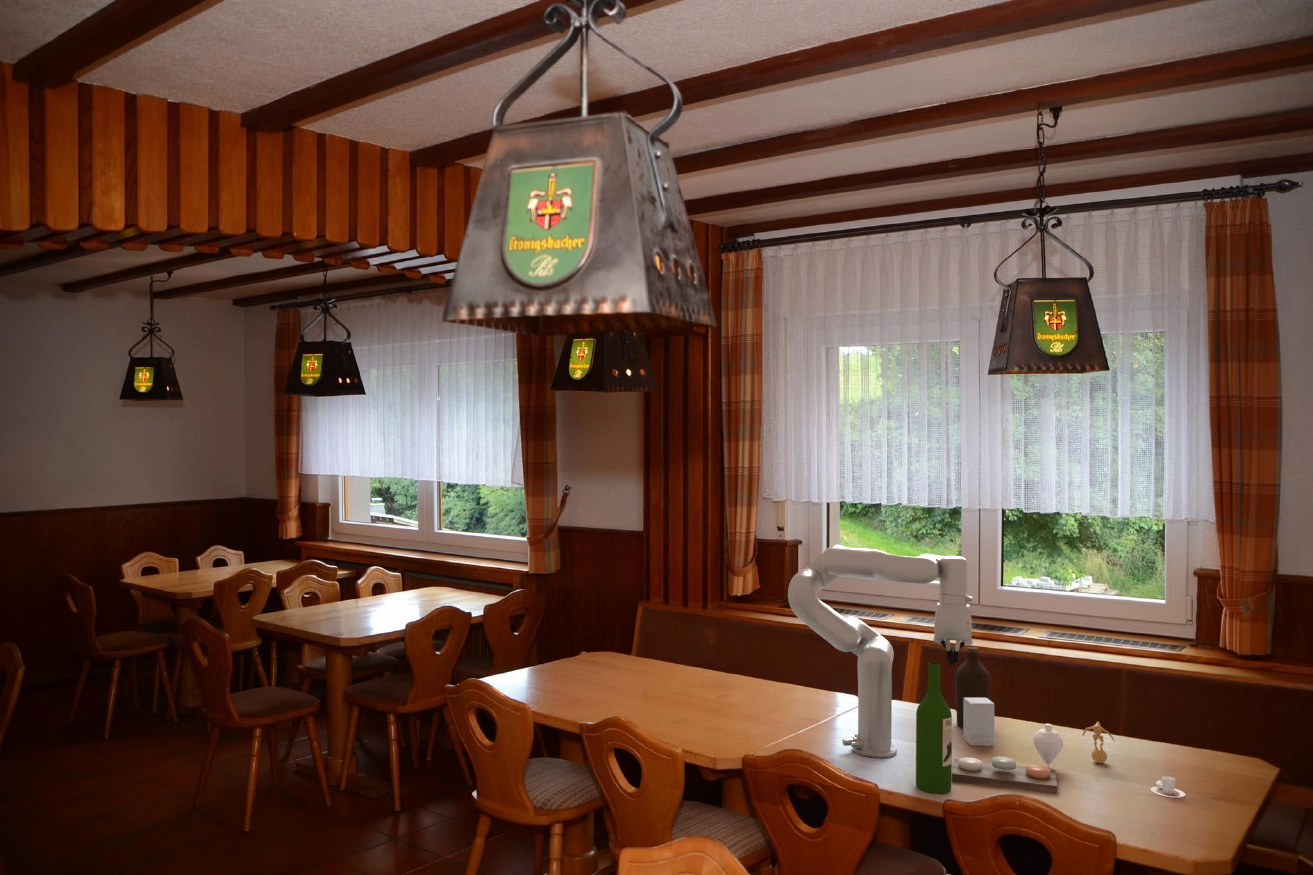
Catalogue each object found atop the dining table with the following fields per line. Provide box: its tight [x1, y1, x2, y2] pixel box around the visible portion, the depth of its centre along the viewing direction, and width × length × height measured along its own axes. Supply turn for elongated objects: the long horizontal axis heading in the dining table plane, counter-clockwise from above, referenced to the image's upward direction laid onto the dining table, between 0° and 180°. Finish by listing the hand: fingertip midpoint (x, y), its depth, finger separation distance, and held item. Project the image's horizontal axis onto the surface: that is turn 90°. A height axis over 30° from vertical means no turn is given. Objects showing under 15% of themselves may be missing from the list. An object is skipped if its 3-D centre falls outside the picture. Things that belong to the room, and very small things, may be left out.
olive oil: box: [954, 646, 991, 729], centre depth 307 cm, size 11×11×25 cm
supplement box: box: [962, 698, 995, 747], centre depth 290 cm, size 7×7×13 cm
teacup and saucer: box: [1150, 775, 1186, 799], centre depth 249 cm, size 9×8×4 cm
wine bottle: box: [915, 661, 953, 795], centre depth 251 cm, size 9×9×32 cm
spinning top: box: [1032, 723, 1064, 769], centre depth 268 cm, size 8×8×12 cm
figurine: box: [1081, 721, 1115, 764], centre depth 271 cm, size 8×6×12 cm
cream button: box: [958, 757, 983, 771], centre depth 261 cm, size 6×6×2 cm
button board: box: [951, 758, 1058, 795], centre depth 258 cm, size 13×26×2 cm, turn 70°
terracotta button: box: [1025, 764, 1051, 779], centre depth 255 cm, size 6×6×2 cm
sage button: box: [991, 756, 1017, 770], centre depth 258 cm, size 6×6×2 cm
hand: (952, 664), depth 274 cm, fingers closed
